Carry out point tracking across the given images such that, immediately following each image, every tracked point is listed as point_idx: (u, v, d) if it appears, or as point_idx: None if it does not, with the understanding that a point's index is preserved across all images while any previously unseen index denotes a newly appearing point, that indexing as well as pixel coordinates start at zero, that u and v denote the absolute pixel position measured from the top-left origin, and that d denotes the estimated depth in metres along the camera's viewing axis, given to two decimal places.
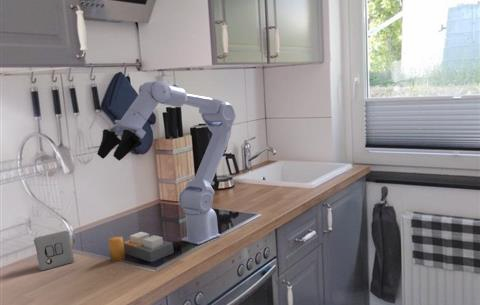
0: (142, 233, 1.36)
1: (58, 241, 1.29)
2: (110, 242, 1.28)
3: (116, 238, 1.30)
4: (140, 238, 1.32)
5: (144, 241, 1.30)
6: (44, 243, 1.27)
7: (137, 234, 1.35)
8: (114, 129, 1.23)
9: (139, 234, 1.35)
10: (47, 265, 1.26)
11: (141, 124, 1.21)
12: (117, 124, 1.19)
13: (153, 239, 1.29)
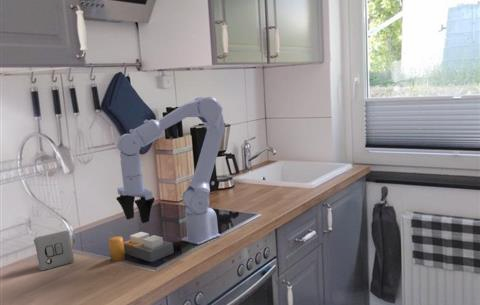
0: (142, 233, 1.36)
1: (58, 241, 1.29)
2: (110, 242, 1.28)
3: (116, 238, 1.30)
4: (140, 238, 1.32)
5: (144, 241, 1.30)
6: (44, 243, 1.27)
7: (137, 234, 1.35)
8: None
9: (139, 234, 1.35)
10: (47, 265, 1.26)
11: (141, 180, 1.31)
12: None
13: (153, 239, 1.29)
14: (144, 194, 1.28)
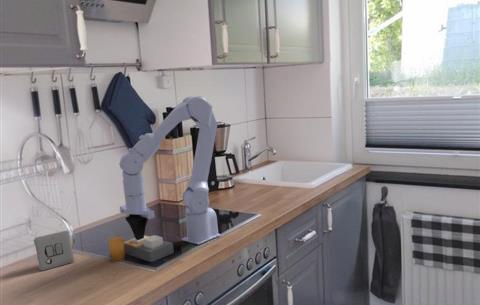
0: None
1: (58, 241, 1.29)
2: (110, 242, 1.28)
3: (116, 238, 1.30)
4: (141, 242, 1.33)
5: (144, 241, 1.30)
6: (44, 243, 1.27)
7: None
8: None
9: None
10: (47, 265, 1.26)
11: (143, 199, 1.32)
12: None
13: (153, 239, 1.29)
14: (146, 213, 1.28)
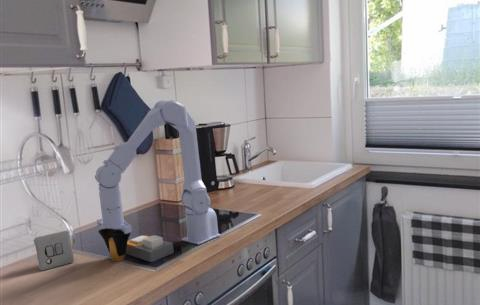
0: (143, 237, 1.36)
1: (58, 241, 1.29)
2: (111, 242, 1.28)
3: None
4: (141, 242, 1.33)
5: (144, 241, 1.30)
6: (44, 243, 1.27)
7: (137, 238, 1.36)
8: None
9: (139, 238, 1.35)
10: (47, 265, 1.26)
11: (121, 213, 1.27)
12: None
13: (153, 239, 1.29)
14: (123, 228, 1.24)
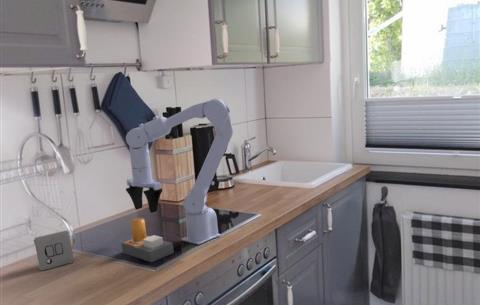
0: None
1: (58, 241, 1.29)
2: (133, 223, 1.32)
3: (138, 219, 1.34)
4: None
5: (144, 241, 1.30)
6: (44, 243, 1.27)
7: None
8: None
9: None
10: (47, 265, 1.26)
11: (150, 172, 1.38)
12: None
13: (153, 239, 1.29)
14: (152, 185, 1.34)
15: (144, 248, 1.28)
